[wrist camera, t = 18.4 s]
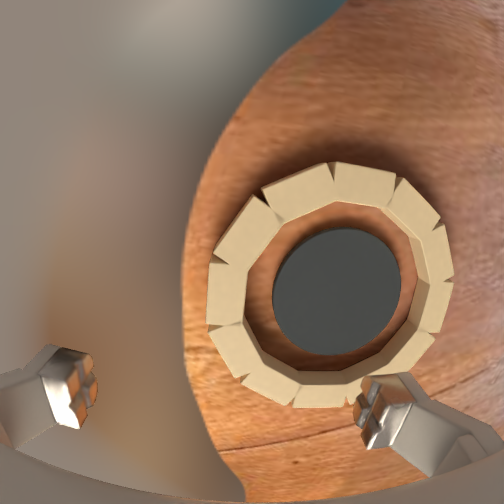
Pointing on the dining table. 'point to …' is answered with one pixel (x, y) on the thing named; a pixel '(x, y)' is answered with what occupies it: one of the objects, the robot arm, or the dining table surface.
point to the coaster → (336, 290)
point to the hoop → (262, 232)
